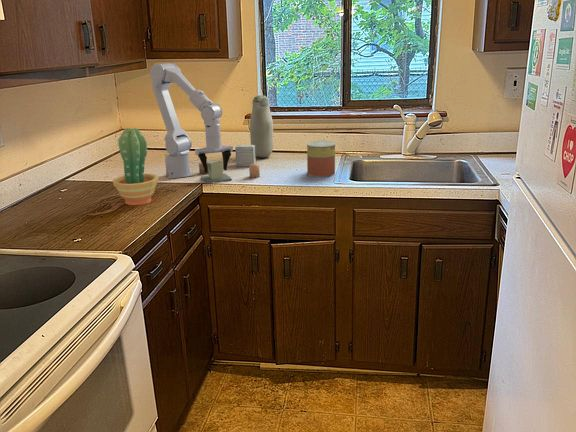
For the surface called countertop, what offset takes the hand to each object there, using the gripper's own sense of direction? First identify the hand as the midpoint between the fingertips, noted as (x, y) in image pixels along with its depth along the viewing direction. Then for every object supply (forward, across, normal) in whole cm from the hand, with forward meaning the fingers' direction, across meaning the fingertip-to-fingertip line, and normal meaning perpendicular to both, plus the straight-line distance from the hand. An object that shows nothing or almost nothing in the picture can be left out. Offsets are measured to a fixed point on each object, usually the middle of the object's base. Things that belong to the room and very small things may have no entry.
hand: (215, 171), depth 208 cm
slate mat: (+3, 0, 0) cm, 3 cm away
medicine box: (+4, +18, +17) cm, 25 cm away
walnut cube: (+3, -1, +12) cm, 13 cm away
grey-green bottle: (+4, +30, +29) cm, 42 cm away
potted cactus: (+4, -32, -16) cm, 36 cm away
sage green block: (+3, 0, 0) cm, 3 cm away
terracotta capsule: (+3, +15, -3) cm, 16 cm away
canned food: (+4, +41, -10) cm, 42 cm away
